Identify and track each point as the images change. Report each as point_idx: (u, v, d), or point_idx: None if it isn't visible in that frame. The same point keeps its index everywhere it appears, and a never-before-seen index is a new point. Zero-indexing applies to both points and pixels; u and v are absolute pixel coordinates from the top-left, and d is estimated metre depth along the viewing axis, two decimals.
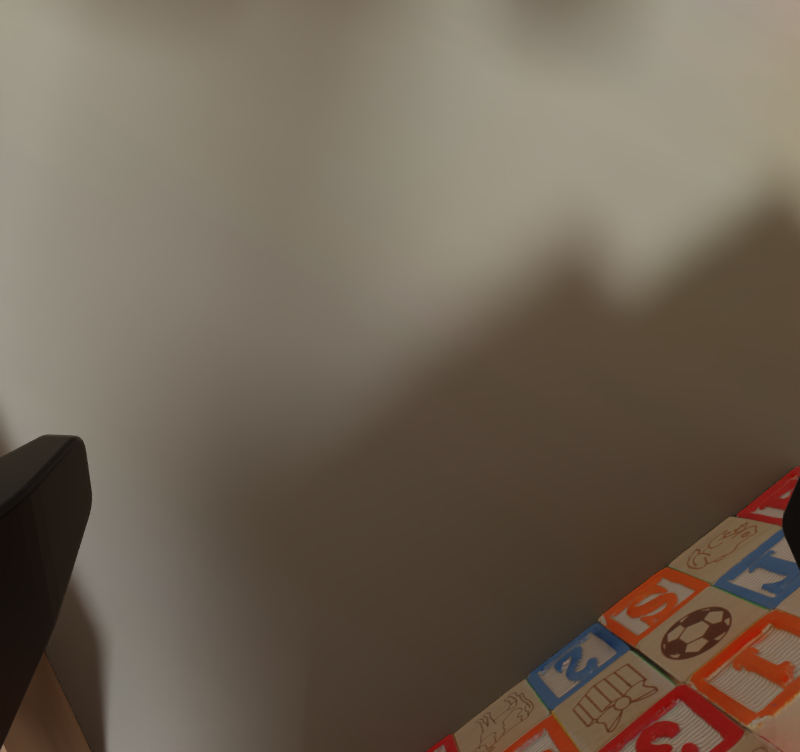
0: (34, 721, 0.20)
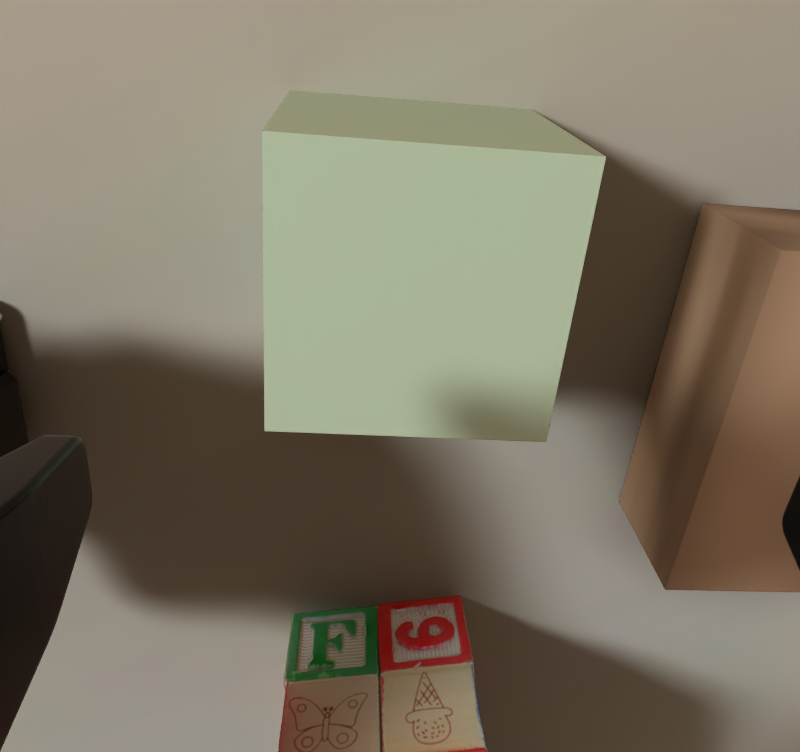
0: None
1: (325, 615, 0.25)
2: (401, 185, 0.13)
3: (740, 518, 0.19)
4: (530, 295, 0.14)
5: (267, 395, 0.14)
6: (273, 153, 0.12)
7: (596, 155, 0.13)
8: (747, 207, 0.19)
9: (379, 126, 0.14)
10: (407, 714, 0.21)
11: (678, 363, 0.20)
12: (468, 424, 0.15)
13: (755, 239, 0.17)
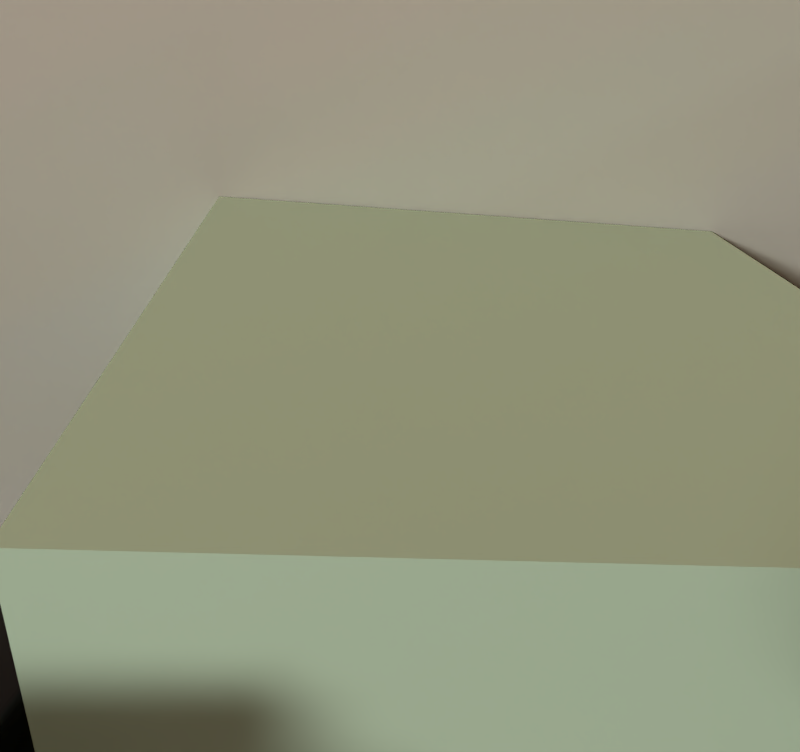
0: None
1: None
2: (519, 676, 0.04)
3: None
4: None
5: None
6: (46, 611, 0.03)
7: None
8: None
9: (431, 401, 0.04)
10: None
11: None
12: None
13: None
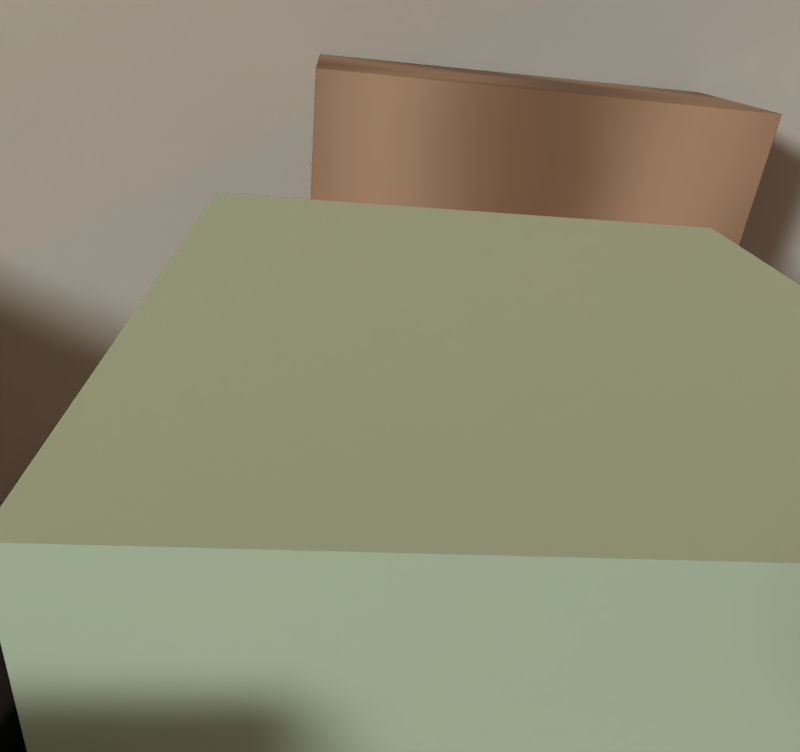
0: None
1: None
2: (516, 672, 0.04)
3: None
4: None
5: None
6: (36, 607, 0.03)
7: None
8: (369, 59, 0.18)
9: (428, 396, 0.04)
10: None
11: None
12: None
13: (317, 68, 0.15)
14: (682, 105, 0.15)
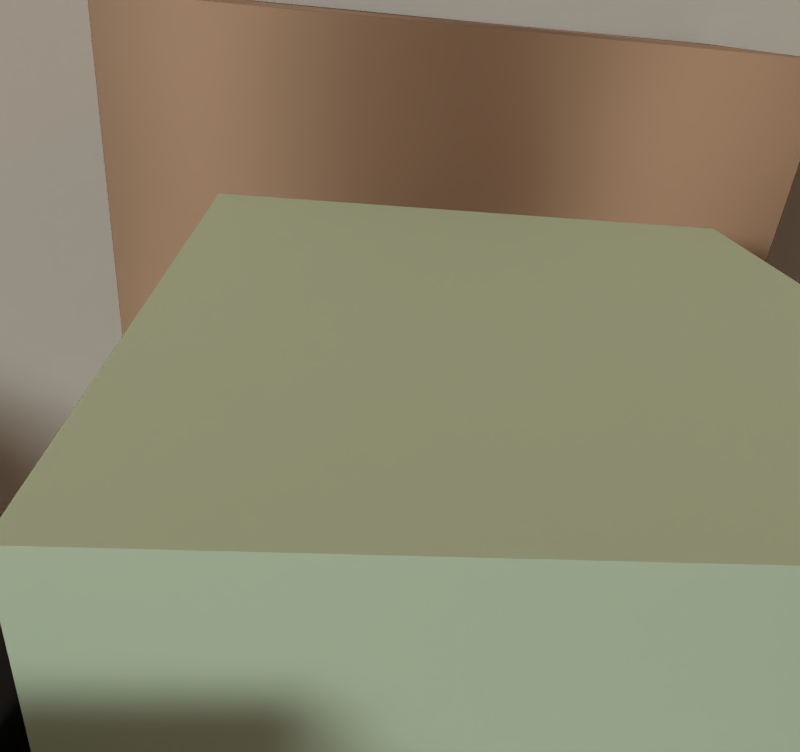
0: None
1: None
2: (523, 677, 0.04)
3: None
4: None
5: None
6: (42, 609, 0.03)
7: None
8: None
9: (432, 397, 0.04)
10: None
11: None
12: None
13: None
14: (676, 47, 0.10)
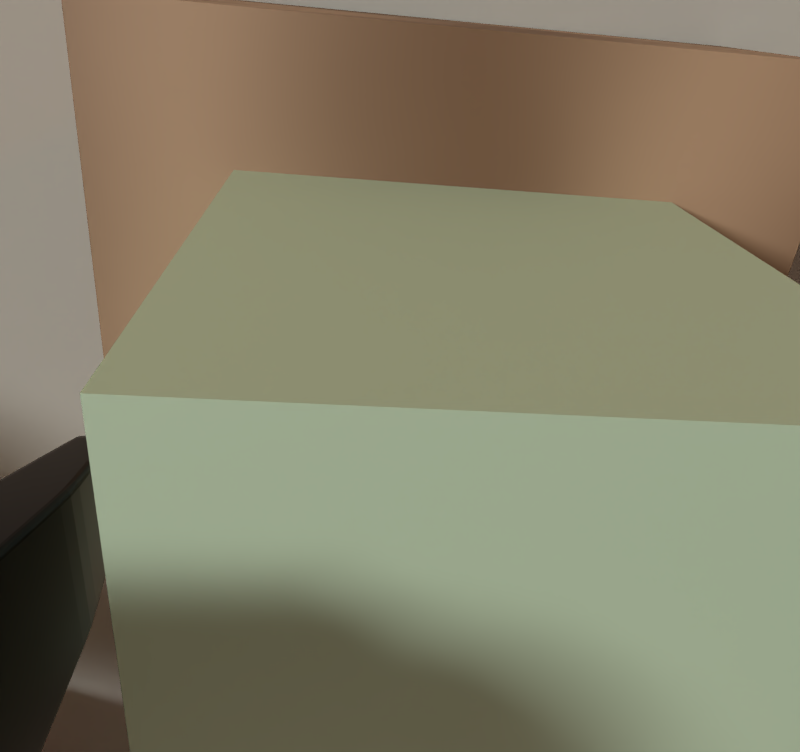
0: None
1: None
2: (478, 512, 0.05)
3: None
4: (768, 707, 0.06)
5: None
6: (119, 447, 0.04)
7: None
8: None
9: (412, 315, 0.06)
10: None
11: None
12: None
13: None
14: (695, 51, 0.09)
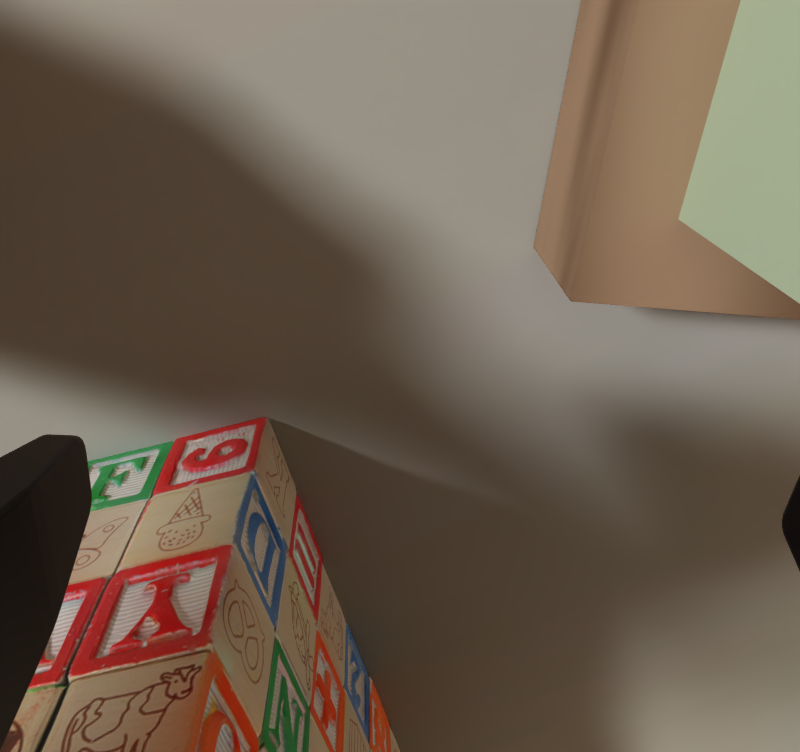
0: None
1: (118, 458, 0.22)
2: None
3: (661, 191, 0.15)
4: None
5: None
6: None
7: None
8: None
9: None
10: (161, 527, 0.18)
11: (592, 16, 0.16)
12: None
13: None
14: None
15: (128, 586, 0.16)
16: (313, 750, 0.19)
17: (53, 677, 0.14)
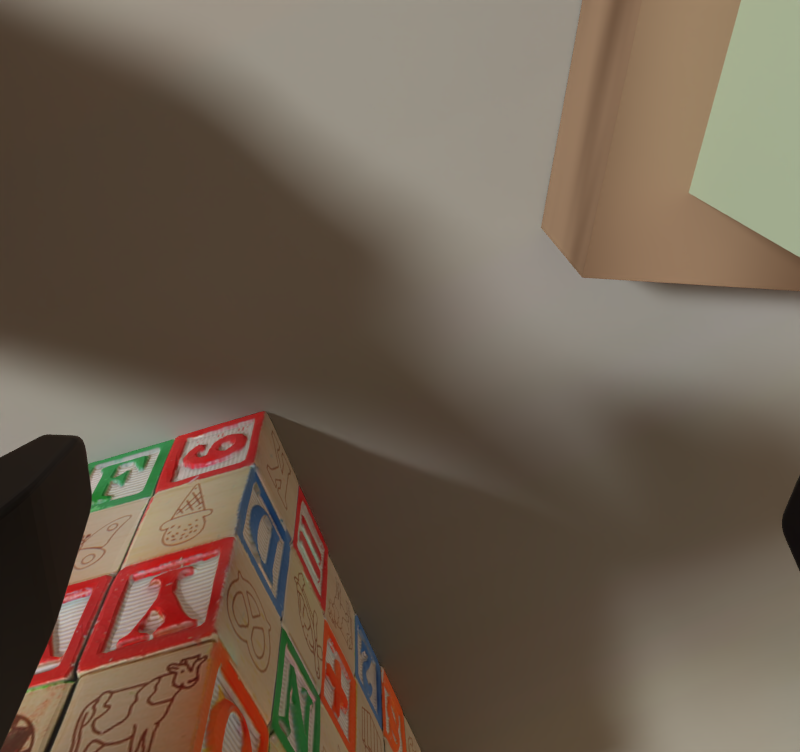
0: None
1: (120, 458, 0.22)
2: None
3: (671, 165, 0.15)
4: None
5: None
6: None
7: None
8: None
9: None
10: (163, 523, 0.18)
11: None
12: None
13: None
14: None
15: (133, 582, 0.17)
16: (325, 738, 0.19)
17: (62, 673, 0.15)
